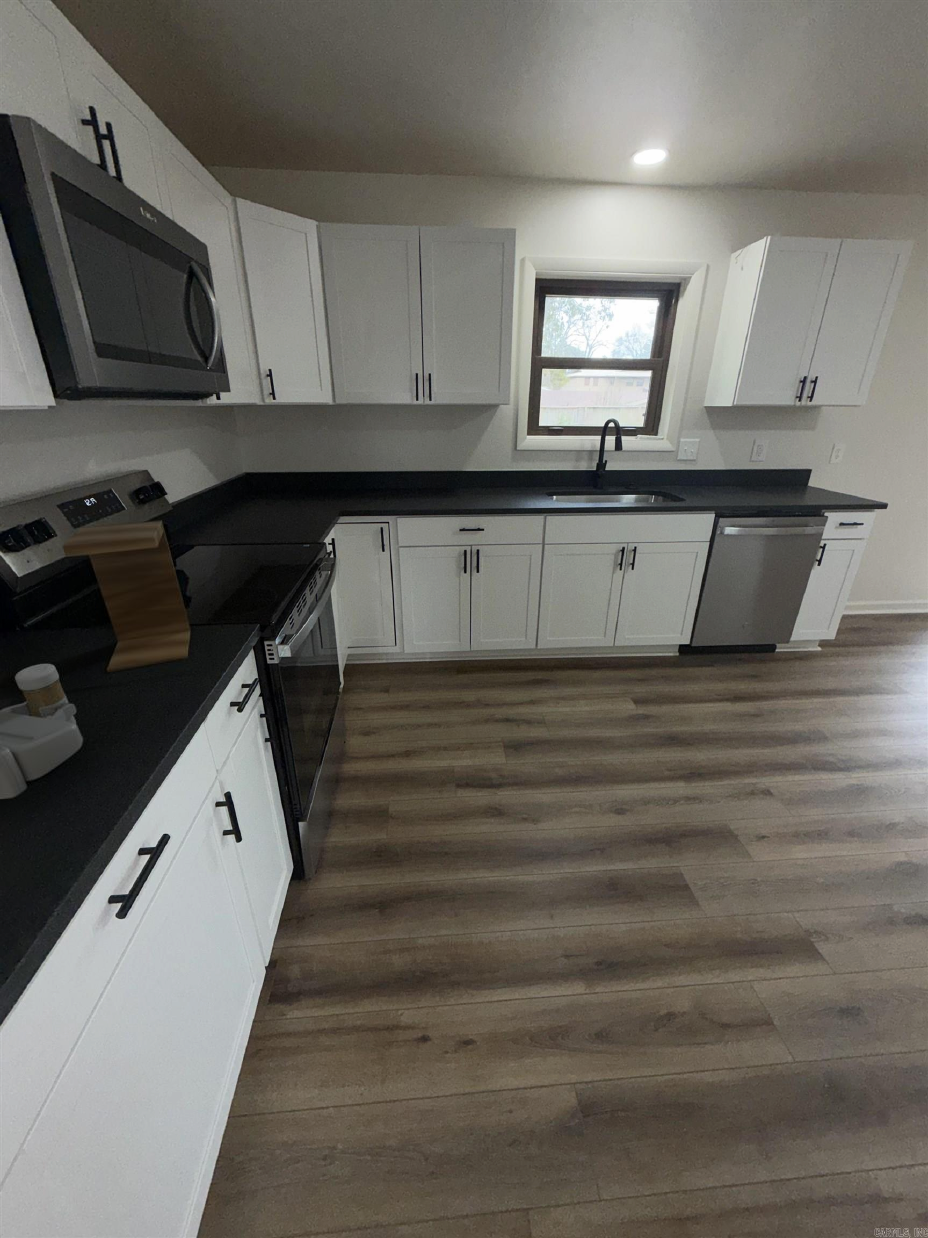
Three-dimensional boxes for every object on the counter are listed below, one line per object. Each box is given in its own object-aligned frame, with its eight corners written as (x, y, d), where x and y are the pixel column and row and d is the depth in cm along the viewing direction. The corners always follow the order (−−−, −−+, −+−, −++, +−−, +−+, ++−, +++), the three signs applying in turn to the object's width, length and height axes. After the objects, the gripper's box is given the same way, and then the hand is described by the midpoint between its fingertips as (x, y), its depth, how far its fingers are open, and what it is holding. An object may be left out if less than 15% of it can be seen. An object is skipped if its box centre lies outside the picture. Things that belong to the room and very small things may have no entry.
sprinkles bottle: (45, 745, 76) (12, 670, 70) (81, 732, 79) (52, 659, 73) (49, 760, 73) (15, 682, 67) (86, 746, 76) (56, 671, 70)
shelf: (189, 664, 102) (154, 536, 91) (109, 678, 97) (62, 545, 86) (192, 636, 114) (161, 520, 103) (121, 647, 109) (81, 527, 97)
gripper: (-101, 774, 65) (8, 713, 77) (26, 799, 61) (119, 730, 73) (-125, 735, 62) (-8, 678, 74) (7, 759, 58) (106, 695, 71)
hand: (56, 704), depth 74 cm, fingers closed on sprinkles bottle, 4 cm apart
